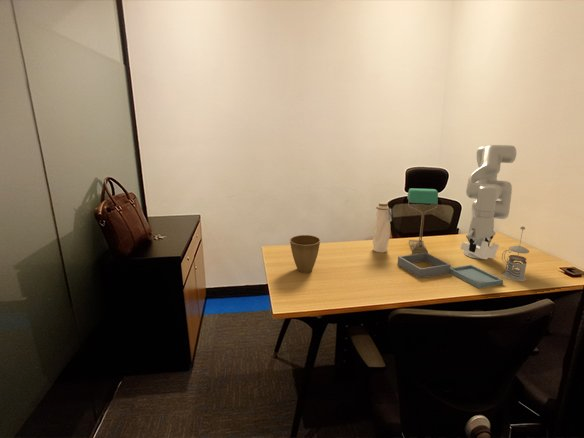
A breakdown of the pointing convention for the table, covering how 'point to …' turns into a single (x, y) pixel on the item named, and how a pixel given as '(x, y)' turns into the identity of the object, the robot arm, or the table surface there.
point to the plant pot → (305, 251)
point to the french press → (516, 263)
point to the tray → (476, 276)
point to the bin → (438, 268)
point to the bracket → (482, 250)
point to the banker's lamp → (421, 197)
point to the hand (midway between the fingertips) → (478, 250)
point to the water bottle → (382, 228)
